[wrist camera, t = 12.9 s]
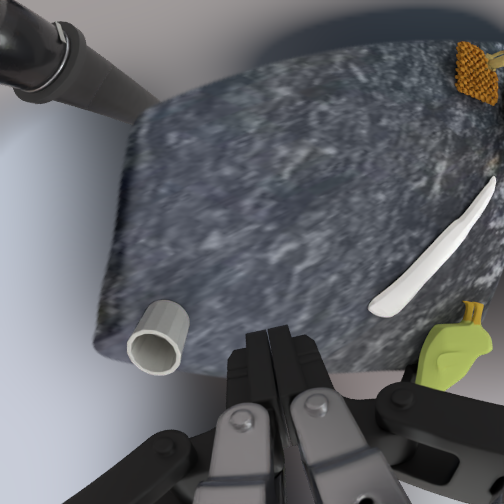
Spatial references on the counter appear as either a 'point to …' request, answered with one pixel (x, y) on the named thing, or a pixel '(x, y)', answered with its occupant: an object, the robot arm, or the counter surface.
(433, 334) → the toy
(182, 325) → the pot
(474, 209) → the white long flat piece
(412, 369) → the multiport hub
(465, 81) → the ornament
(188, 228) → the counter surface
